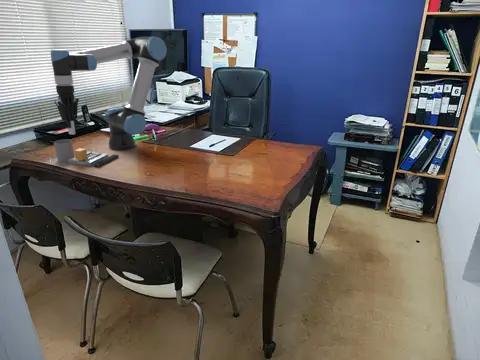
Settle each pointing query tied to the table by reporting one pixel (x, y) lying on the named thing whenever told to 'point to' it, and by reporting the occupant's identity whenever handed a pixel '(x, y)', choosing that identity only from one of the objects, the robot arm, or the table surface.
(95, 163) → the black bar
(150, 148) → the table surface
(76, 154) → the tan wooden block
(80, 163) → the panel
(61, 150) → the cup
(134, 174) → the table surface
